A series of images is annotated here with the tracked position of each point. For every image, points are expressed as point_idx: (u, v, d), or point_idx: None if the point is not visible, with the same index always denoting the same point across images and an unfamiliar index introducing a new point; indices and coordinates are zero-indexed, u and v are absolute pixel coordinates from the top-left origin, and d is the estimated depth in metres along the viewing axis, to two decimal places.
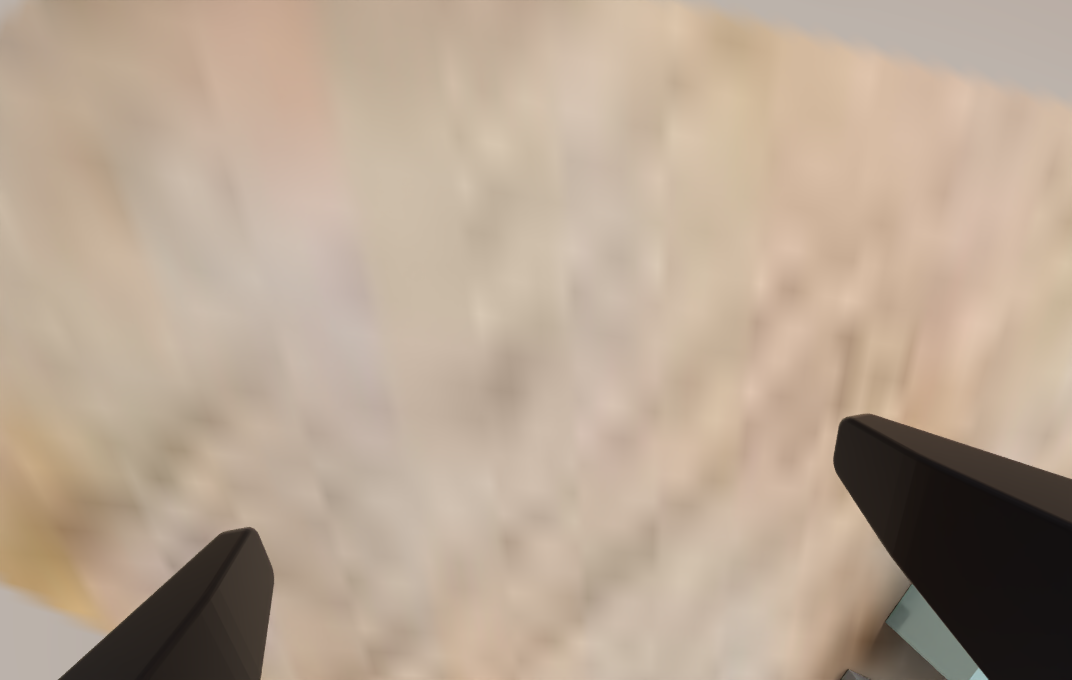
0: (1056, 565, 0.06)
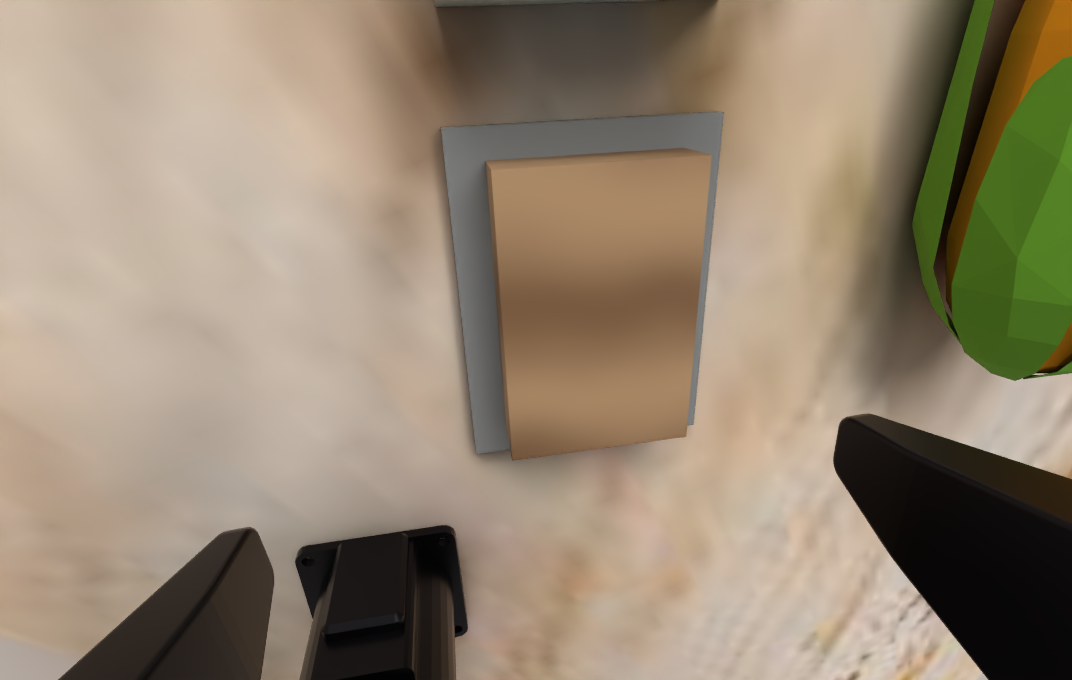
0: (1056, 565, 0.06)
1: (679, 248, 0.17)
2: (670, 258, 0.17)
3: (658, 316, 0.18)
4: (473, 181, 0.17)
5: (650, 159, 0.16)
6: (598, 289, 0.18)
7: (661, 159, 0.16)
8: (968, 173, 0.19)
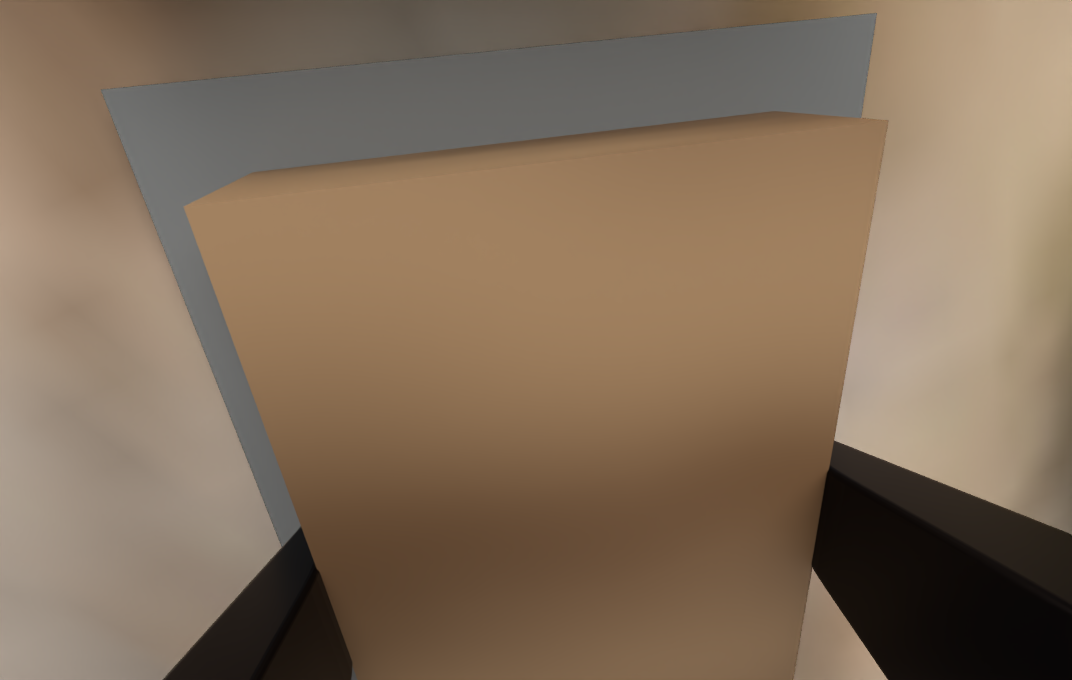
0: (955, 588, 0.06)
1: (783, 378, 0.06)
2: (758, 404, 0.07)
3: (727, 531, 0.07)
4: None
5: (704, 143, 0.05)
6: (572, 493, 0.07)
7: (738, 141, 0.05)
8: None
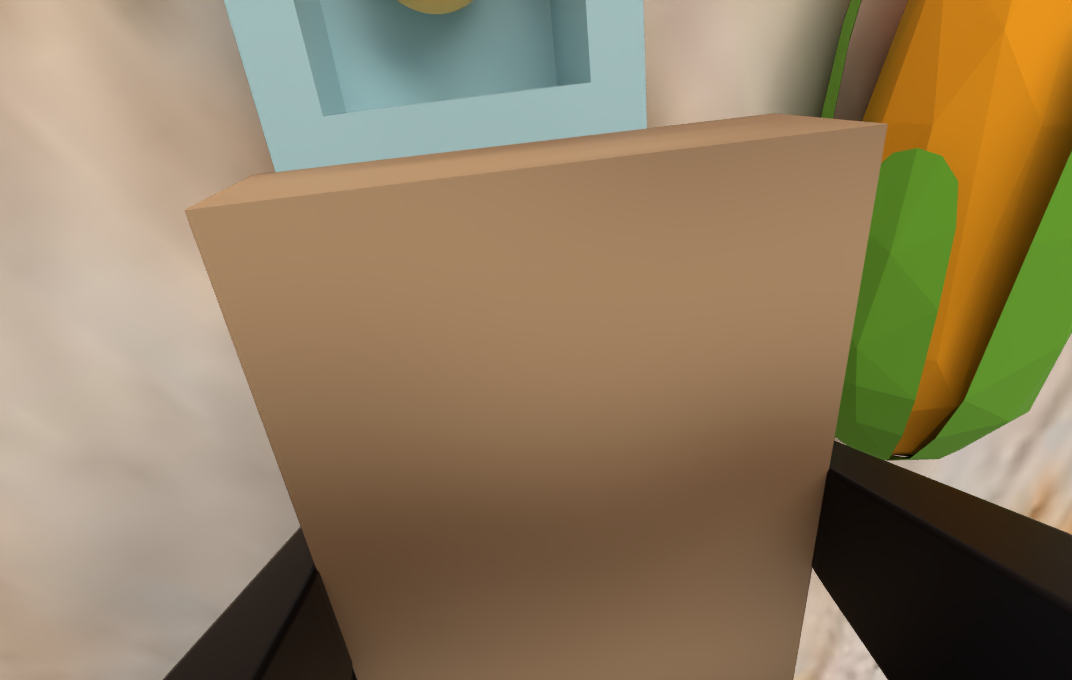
0: (955, 588, 0.06)
1: (783, 381, 0.07)
2: (758, 406, 0.07)
3: (727, 534, 0.07)
4: None
5: (704, 146, 0.05)
6: (573, 495, 0.07)
7: (738, 144, 0.05)
8: None
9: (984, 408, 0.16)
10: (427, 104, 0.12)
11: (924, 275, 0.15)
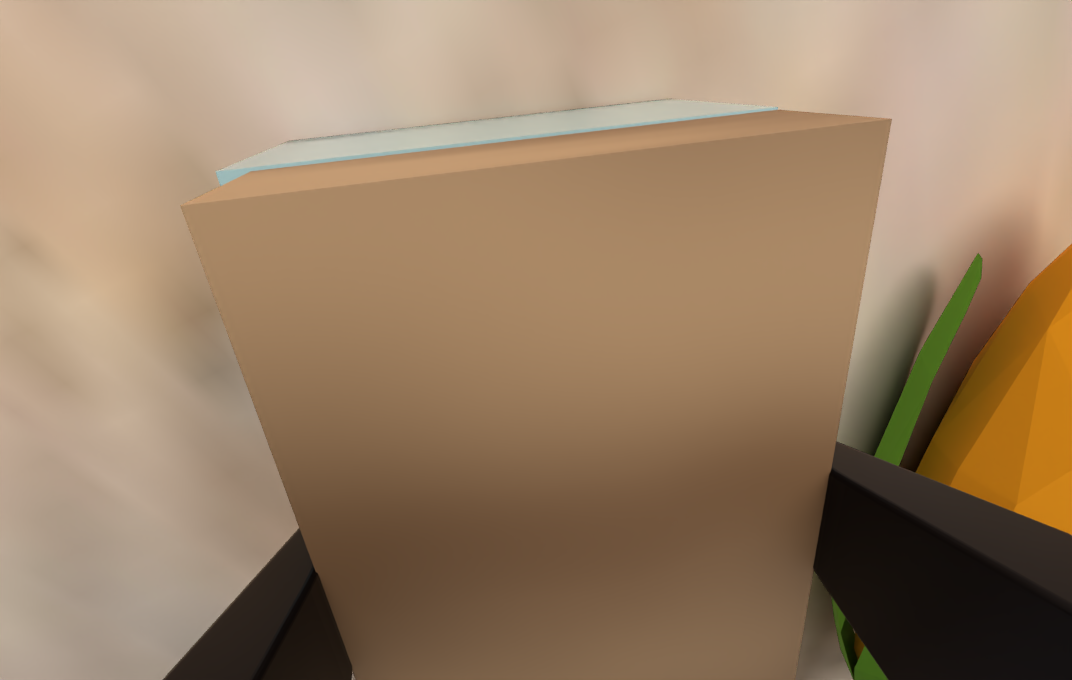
0: (955, 588, 0.06)
1: (785, 379, 0.06)
2: (760, 404, 0.07)
3: (727, 533, 0.07)
4: None
5: (705, 141, 0.05)
6: (573, 494, 0.07)
7: (740, 139, 0.05)
8: None
9: None
10: None
11: None
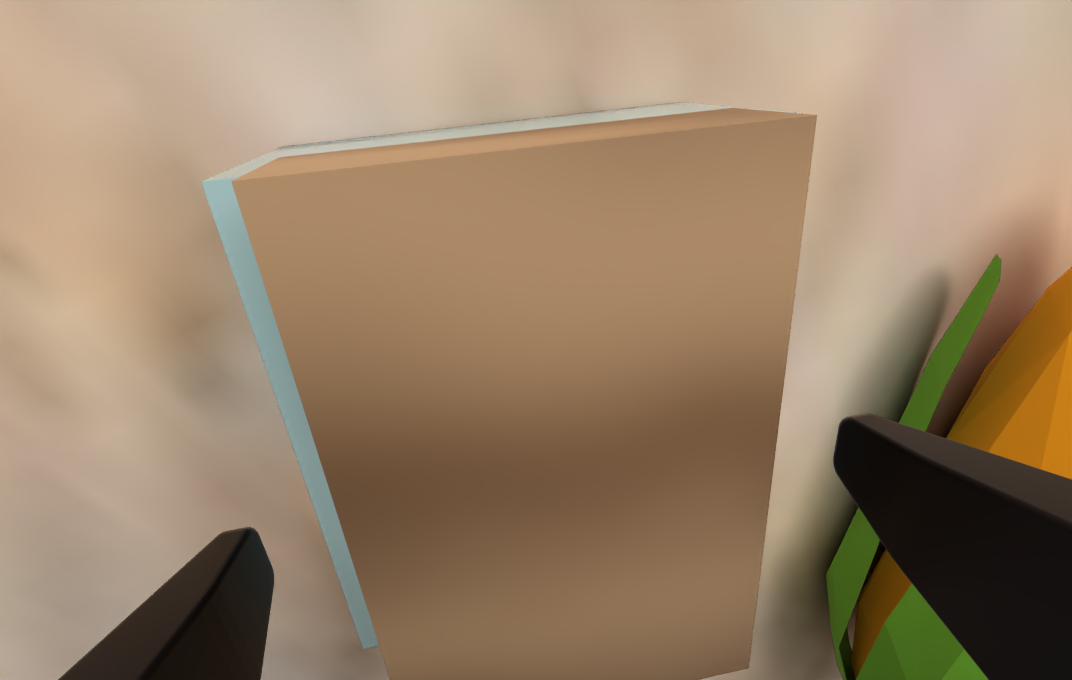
0: (1056, 565, 0.06)
1: (735, 338, 0.08)
2: (714, 360, 0.08)
3: (690, 476, 0.08)
4: None
5: (661, 133, 0.06)
6: (554, 436, 0.08)
7: (690, 131, 0.06)
8: (885, 557, 0.18)
9: None
10: None
11: None
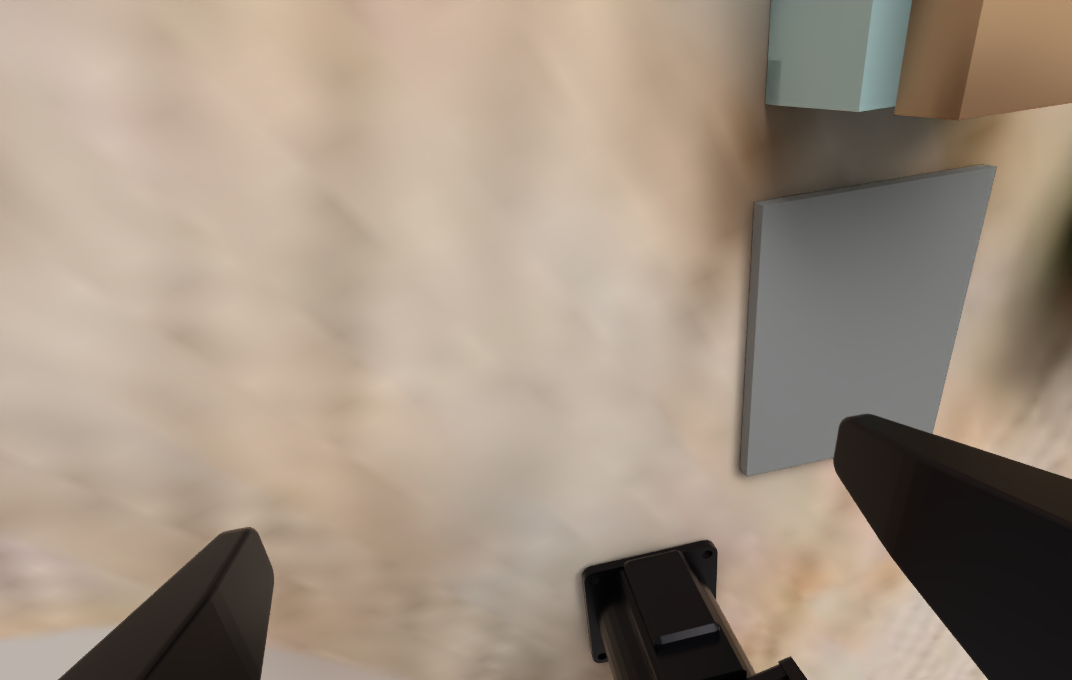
0: (1056, 565, 0.06)
1: None
2: None
3: None
4: (781, 246, 0.20)
5: None
6: None
7: None
8: None
9: None
10: None
11: None
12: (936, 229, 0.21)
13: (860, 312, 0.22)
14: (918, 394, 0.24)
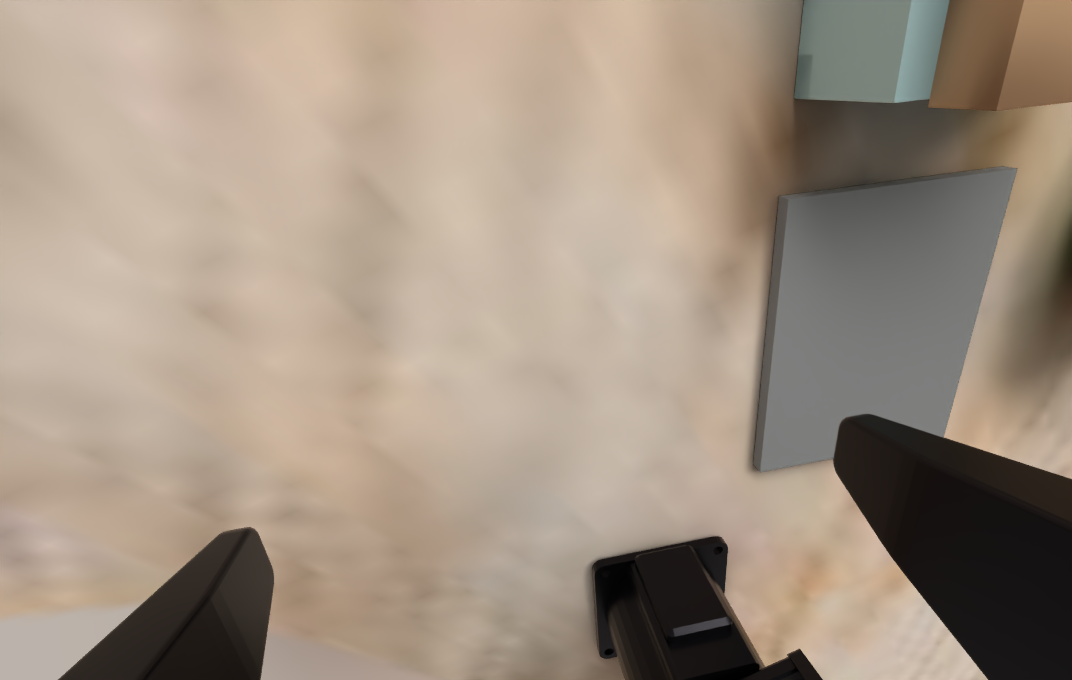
0: (1056, 565, 0.06)
1: None
2: None
3: None
4: (805, 240, 0.20)
5: None
6: None
7: None
8: None
9: None
10: None
11: None
12: (956, 229, 0.21)
13: (879, 310, 0.22)
14: (931, 395, 0.24)
